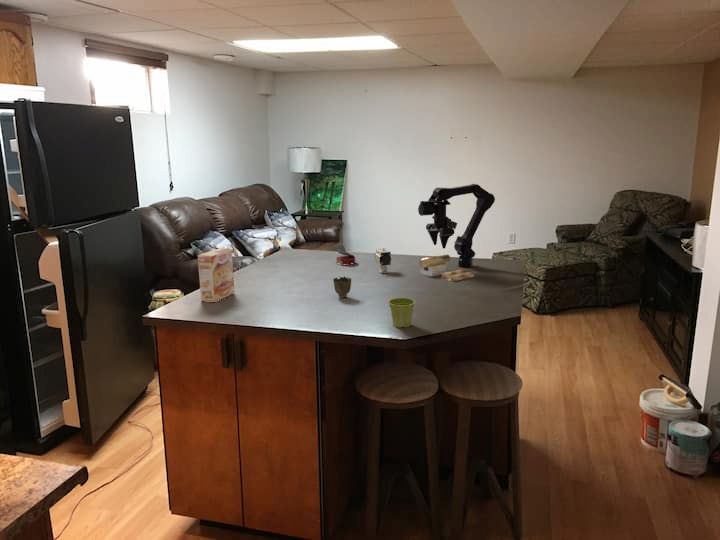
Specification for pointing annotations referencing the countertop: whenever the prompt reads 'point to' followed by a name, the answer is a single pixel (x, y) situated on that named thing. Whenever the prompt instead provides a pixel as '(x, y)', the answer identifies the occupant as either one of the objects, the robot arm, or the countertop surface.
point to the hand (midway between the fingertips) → (439, 246)
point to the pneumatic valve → (383, 259)
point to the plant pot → (401, 311)
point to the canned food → (345, 257)
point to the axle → (434, 260)
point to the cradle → (434, 269)
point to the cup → (342, 286)
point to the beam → (457, 275)
